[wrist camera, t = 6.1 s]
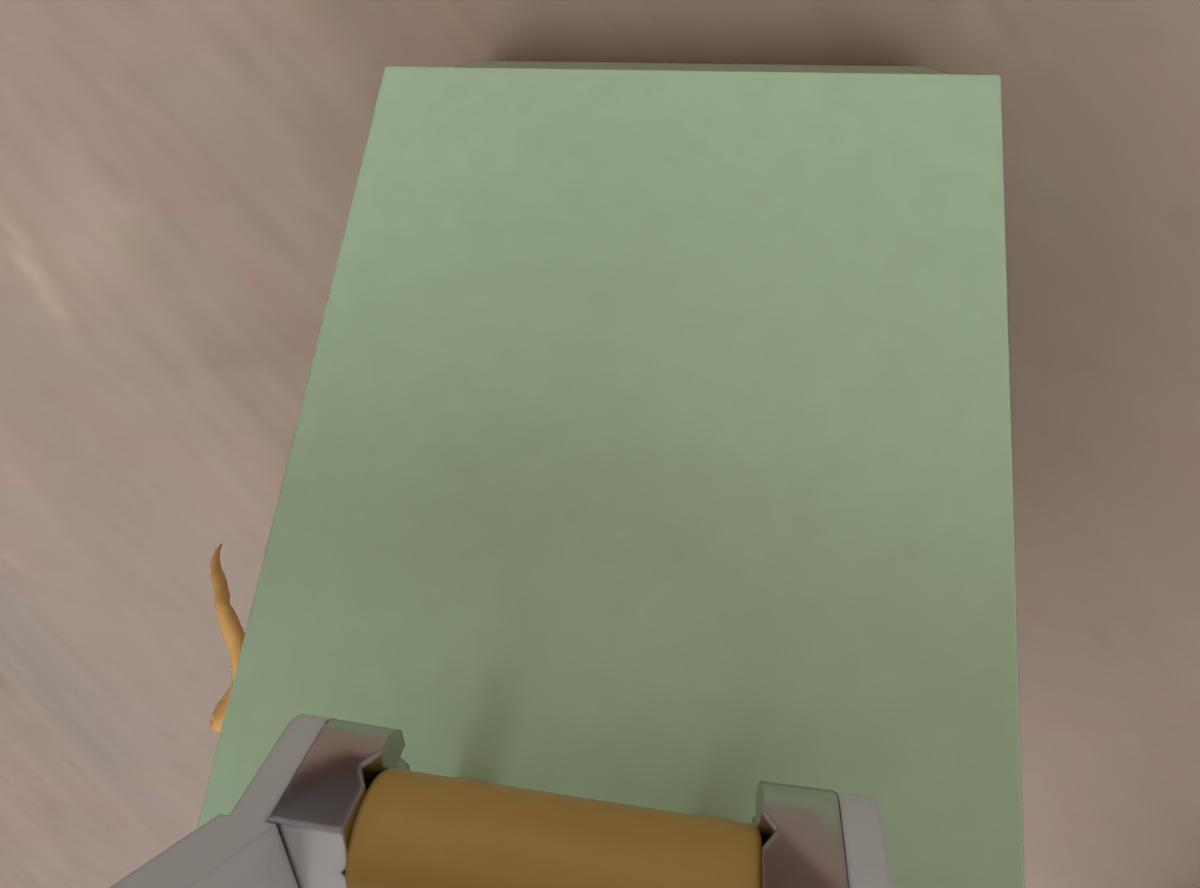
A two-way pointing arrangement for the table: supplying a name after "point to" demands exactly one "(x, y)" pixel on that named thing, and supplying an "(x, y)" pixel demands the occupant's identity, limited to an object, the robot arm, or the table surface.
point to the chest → (704, 67)
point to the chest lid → (655, 479)
